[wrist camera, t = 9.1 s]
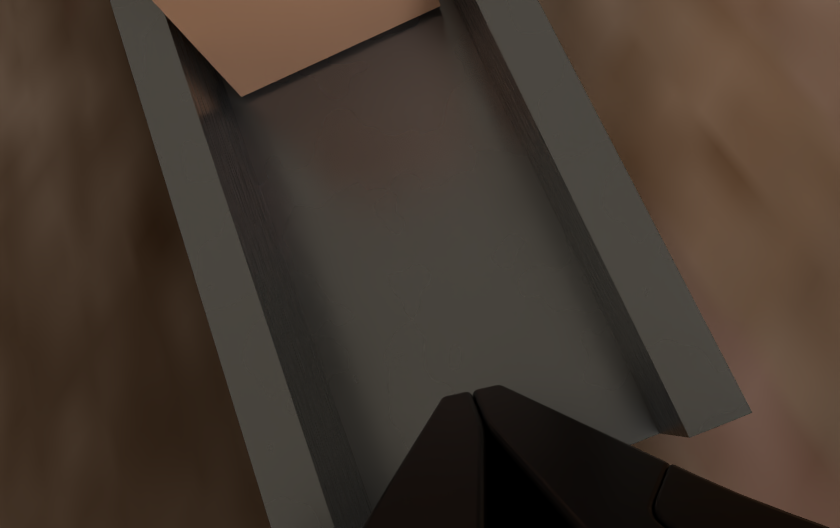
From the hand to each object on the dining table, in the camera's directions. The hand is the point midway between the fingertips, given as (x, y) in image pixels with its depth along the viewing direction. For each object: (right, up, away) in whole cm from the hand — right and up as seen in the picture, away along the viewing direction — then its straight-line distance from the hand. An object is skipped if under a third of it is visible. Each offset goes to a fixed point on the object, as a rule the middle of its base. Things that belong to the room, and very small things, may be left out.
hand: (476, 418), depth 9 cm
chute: (-2, +6, +10) cm, 11 cm away
